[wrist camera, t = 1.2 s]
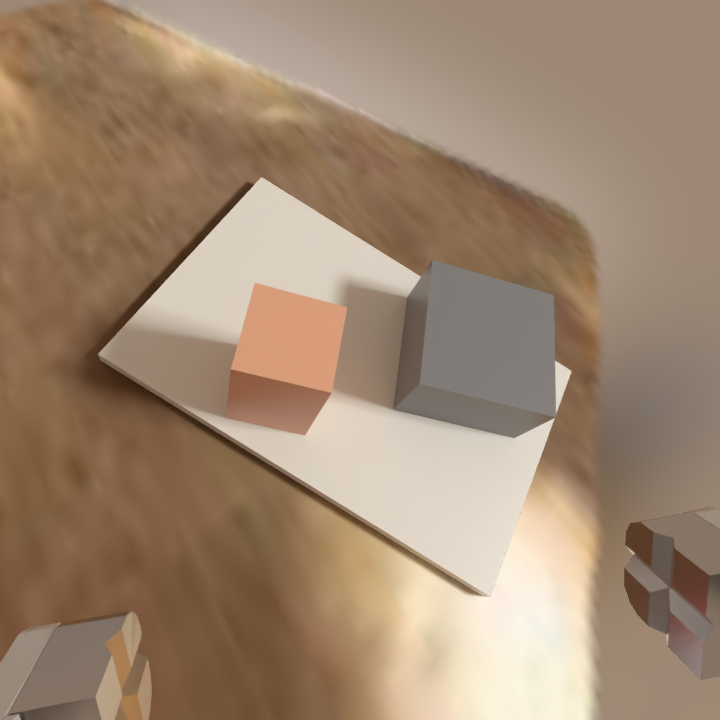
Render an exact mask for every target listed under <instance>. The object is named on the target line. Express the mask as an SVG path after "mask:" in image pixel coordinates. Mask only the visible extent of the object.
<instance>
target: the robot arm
mask: <svg viewBox="0 0 720 720" xmlns="http://www.w3.org/2000/svg"><path fill="white" fill-rule="evenodd" d="M625 544H626V546H627V548H628V549H629V550H630V551H631V553H632V554H633V556H632V557H631V559H630V560H629V562H628V563H627V565H626V566H625V568H624V586H625V588H626V592H627V595H628V598H629V601H630V603H631V605H632V606H633V608H634V609H635V611H636V613H637V614H638V616H640V618H641V619H642V620H643V621H644V622H645V623H646V624H647V625H648V626H650V627H652V628H654V629H656V630H658V631H661V632H663V633H665V634H667V643H668V647H669V648H670V649H671V650H672V651H673V652H674V653H675V654H676V655H677V656H678V658H680V660H681V661H682V662H683V663H684V664H685V665H686V666H687V667H688V668H689V669H690V670H691V671H692V672H693V673H694V674H695V675H696V676H697V677H698V678H699V679H700V680H703V679H708V678H713V677H718V676H720V508H715V507H705V508H701V509H696V510H691V511H687V512H684V513H682V514H676V515H671V516H665V517H660V518H655V519H649V520H644V521H639V522H634V523H630V525H629V527H628V529H627V531H626V543H625ZM141 635H142V633H141V629H140V625H139V621H138V617H137V615H136V614H134V613H133V612H132V611H131V612H124V613H118V614H112V615H105V616H99V617H92V618H86V619H80V620H73V621H67V622H63V623H55V624H49V625H44V626H38V627H32V628H28V629H26V630H24V631H23V632H21V633H19V635H18V636H17V637H16V639H15V640H14V642H13V644H12V645H11V647H10V648H9V650H8V651H7V653H6V655H5V656H4V658H3V659H2V661H1V662H0V720H148V718H149V714H150V704H151V691H152V688H151V675H150V669H149V664H148V659H147V658H146V657H144V656H143V655H142V654H140V653H139V652H138V651H137V648H138V645H139V642H140V639H141Z"/></svg>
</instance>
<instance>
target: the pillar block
mask: <svg viewBox="0 0 720 720" xmlns="http://www.w3.org/2000/svg"><path fill="white" fill-rule="evenodd" d="M346 312H347V307H344V306H340V305H337V304H333V303H329V302H325V301H322V300H318V299H314V298H310V297H306V296H303V295H299V294H295V293H291V292H288V291H284V290H280V289H276V288H273V287H269V286H265V285H261V284H258V283H255V284H254V288H253V291H252V295H251V298H250V302H249V306H248V309H247V313H246V316H245V320H244V324H243V327H242V331H241V334H240V338H239V342H238V345H237V349H236V352H235V356H234V360H233V363H232V367H231V372H230V382H229V391H228V401H227V410H226V418H228V419H233V420H237V421H242V422H246V423H251V424H255V425H260V426H265V427H269V428H274V429H278V430H283V431H287V432H292V433H296V434H301V435H306V433H307V432H308V430H309V428H310V427H311V425H312V424H313V422H314V420H315V419H316V417H317V416H318V414H319V412H320V411H321V409H322V408H323V406H324V404H325V403H326V401H327V400H328V398H329V396H330V395H331V393H332V389H333V383H334V378H335V372H336V367H337V361H338V356H339V350H340V345H341V339H342V334H343V328H344V323H345V317H346Z"/></svg>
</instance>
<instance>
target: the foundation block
mask: <svg viewBox="0 0 720 720" xmlns="http://www.w3.org/2000/svg"><path fill="white" fill-rule="evenodd" d="M393 410H396V411H401V412H405V413H409V414H413V415H418V416H422V417H426V418H430V419H435V420H439V421H443V422H447V423H452V424H456V425H460V426H464V427H469V428H473V429H477V430H482V431H486V432H490V433H494V434H499V435H503V436H507V437H511V438H516V437H518V436H520V435H522V434H524V433H526V432H528V431H530V430H532V429H534V428H536V427H538V426H540V425H542V424H544V423H546V422H548V421H550V420H552V419H554V418H556V383H555V329H554V295H551V294H548V293H544V292H541V291H537V290H534V289H531V288H527V287H524V286H520V285H517V284H513V283H510V282H506V281H503V280H500V279H496V278H493V277H489V276H486V275H482V274H479V273H475V272H472V271H469V270H465V269H462V268H458V267H455V266H451V265H448V264H444V263H441V262H438V261H434V260H432V261H431V263H430V264H429V266H428V267H427V269H426V270H425V272H424V273H423V275H422V276H421V278H420V279H419V281H418V282H417V284H416V285H415V286H414V288H413V289H412V291H411V292H410V294H409V295H408V297H407V302H406V310H405V318H404V326H403V334H402V342H401V350H400V358H399V366H398V374H397V382H396V390H395V398H394V406H393Z"/></svg>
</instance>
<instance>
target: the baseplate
mask: <svg viewBox="0 0 720 720" xmlns="http://www.w3.org/2000/svg"><path fill="white" fill-rule="evenodd" d="M420 278H421V277H420V276H419V275H417V274H415V273H414V272H412V271H411V270H409V269H407V268H406V267H404V266H403V265H401V264H399V263H398V262H396V261H395V260H393V259H391V258H390V257H388V256H387V255H385V254H383V253H382V252H380V251H379V250H377V249H375V248H374V247H372V246H371V245H369V244H367V243H366V242H364V241H363V240H361V239H359V238H358V237H356V236H355V235H353V234H351V233H350V232H348V231H347V230H345V229H343V228H342V227H340V226H339V225H337V224H335V223H334V222H332V221H331V220H329V219H327V218H326V217H324V216H323V215H321V214H319V213H318V212H316V211H315V210H313V209H311V208H310V207H308V206H307V205H305V204H303V203H302V202H300V201H299V200H297V199H295V198H294V197H292V196H291V195H289V194H288V193H286V192H284V191H283V190H281V189H280V188H278V187H276V186H275V185H273V184H272V183H270V182H268V181H267V180H265V179H264V178H262V177H261V178H260V179H259V180H258V182H257V183H256V184H255V185H254V186H253V187H252V188H251V189H250V190H249V191H248V192H247V193H246V195H245V196H244V197H243V198H242V199H241V200H240V201H239V202H238V203H237V204H236V205H235V206H234V208H233V209H232V210H231V211H230V212H229V213H228V214H227V215H226V216H225V217H224V218H223V219H222V220H221V222H220V223H219V224H218V225H217V226H216V227H215V228H214V229H213V230H212V231H211V232H210V233H209V235H208V236H207V237H206V238H205V239H204V240H203V241H202V242H201V243H200V244H199V245H198V246H197V248H196V249H195V250H194V251H193V252H192V253H191V254H190V255H189V256H188V257H187V258H186V259H185V261H184V262H183V263H182V264H181V265H180V266H179V267H178V268H177V269H176V270H175V271H174V272H173V274H172V275H171V276H170V277H169V278H168V279H167V280H166V281H165V282H164V283H163V284H162V285H161V286H160V288H159V289H158V290H157V291H156V292H155V293H154V294H153V295H152V296H151V297H150V298H149V299H148V301H147V302H146V303H145V304H144V305H143V306H142V307H141V308H140V309H139V310H138V311H137V312H136V314H135V315H134V316H133V317H132V318H131V319H130V320H129V321H128V322H127V323H126V324H125V325H124V327H123V328H122V329H121V330H120V331H119V332H118V333H117V334H116V335H115V336H114V337H113V338H112V340H111V341H110V342H109V343H108V344H107V345H106V346H105V347H104V348H103V349H102V350H101V351H100V352H99V354H98V356H99V358H100V360H101V361H102V362H103V363H105V364H107V365H108V366H110V367H112V368H113V369H115V370H116V371H118V372H120V373H121V374H123V375H125V376H126V377H128V378H129V379H131V380H133V381H134V382H136V383H138V384H139V385H141V386H142V387H144V388H146V389H147V390H149V391H150V392H152V393H154V394H155V395H157V396H159V397H160V398H162V399H163V400H165V401H167V402H168V403H170V404H172V405H173V406H175V407H176V408H178V409H180V410H181V411H183V412H185V413H186V414H188V415H189V416H191V417H193V418H194V419H196V420H197V421H199V422H201V423H202V424H204V425H206V426H207V427H209V428H210V429H212V430H214V431H215V432H217V433H219V434H220V435H222V436H223V437H225V438H227V439H228V440H230V441H232V442H233V443H235V444H236V445H238V446H240V447H241V448H243V449H245V450H246V451H248V452H249V453H251V454H253V455H254V456H256V457H257V458H259V459H261V460H262V461H264V462H266V463H267V464H269V465H270V466H272V467H274V468H275V469H277V470H279V471H280V472H282V473H283V474H285V475H287V476H288V477H290V478H292V479H293V480H295V481H296V482H298V483H300V484H301V485H303V486H304V487H306V488H308V489H309V490H311V491H313V492H314V493H316V494H317V495H319V496H321V497H322V498H324V499H326V500H327V501H329V502H330V503H332V504H334V505H335V506H337V507H339V508H340V509H342V510H343V511H345V512H347V513H348V514H350V515H352V516H353V517H355V518H356V519H358V520H360V521H361V522H363V523H364V524H366V525H368V526H369V527H371V528H373V529H374V530H376V531H377V532H379V533H381V534H382V535H384V536H386V537H387V538H389V539H390V540H392V541H394V542H395V543H397V544H399V545H400V546H402V547H403V548H405V549H407V550H408V551H410V552H411V553H413V554H415V555H416V556H418V557H420V558H421V559H423V560H424V561H426V562H428V563H429V564H431V565H433V566H434V567H436V568H437V569H439V570H441V571H442V572H444V573H446V574H447V575H449V576H450V577H452V578H454V579H455V580H457V581H459V582H460V583H462V584H463V585H465V586H467V587H468V588H470V589H471V590H473V591H475V592H476V593H478V594H480V595H481V596H486V597H490V596H491V593H492V590H493V588H494V585H495V582H496V579H497V577H498V574H499V571H500V568H501V565H502V563H503V560H504V557H505V554H506V552H507V549H508V546H509V543H510V540H511V538H512V535H513V532H514V529H515V527H516V524H517V521H518V518H519V515H520V513H521V510H522V507H523V504H524V502H525V499H526V496H527V493H528V490H529V488H530V485H531V482H532V479H533V477H534V474H535V471H536V468H537V465H538V463H539V460H540V457H541V454H542V452H543V449H544V446H545V443H546V440H547V438H548V435H549V432H550V429H551V427H552V424H553V421H554V419H552V420H550V421H548V422H546V423H544V424H542V425H540V426H538V427H536V428H534V429H532V430H530V431H528V432H526V433H524V434H522V435H520V436H518V437H516V438H511V437H507V436H503V435H499V434H494V433H490V432H486V431H482V430H477V429H473V428H469V427H464V426H460V425H456V424H452V423H447V422H443V421H439V420H435V419H430V418H426V417H422V416H418V415H413V414H409V413H405V412H401V411H396V410H393V406H394V398H395V390H396V382H397V374H398V366H399V358H400V350H401V342H402V334H403V326H404V318H405V310H406V302H407V297H408V295H409V294H410V292H411V291H412V289H413V288H414V286H415V285H416V284H417V282H418V281H419V279H420ZM255 283H258V284H261V285H265V286H269V287H273V288H276V289H280V290H284V291H288V292H291V293H295V294H299V295H303V296H306V297H310V298H314V299H318V300H322V301H325V302H329V303H333V304H337V305H340V306H344V307H347V312H346V317H345V323H344V328H343V334H342V339H341V345H340V350H339V356H338V361H337V367H336V372H335V378H334V383H333V389H332V393H331V395H330V396H329V398H328V400H327V401H326V403H325V404H324V406H323V408H322V409H321V411H320V412H319V414H318V416H317V417H316V419H315V420H314V422H313V424H312V425H311V427H310V428H309V430H308V432H307V433H306V435H301V434H296V433H292V432H287V431H283V430H278V429H274V428H269V427H265V426H260V425H255V424H251V423H246V422H242V421H237V420H233V419H228V418H226V410H227V401H228V391H229V382H230V372H231V367H232V363H233V360H234V356H235V352H236V349H237V345H238V342H239V338H240V334H241V331H242V327H243V324H244V320H245V316H246V313H247V309H248V306H249V302H250V298H251V295H252V291H253V288H254V284H255ZM570 374H571V371H570V370H569V369H567V368H566V367H564V366H562V365H561V364H559V363H558V362H556V361H555V383H556V413H557V410H558V407H559V404H560V402H561V399H562V396H563V393H564V390H565V388H566V385H567V382H568V379H569V377H570Z"/></svg>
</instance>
